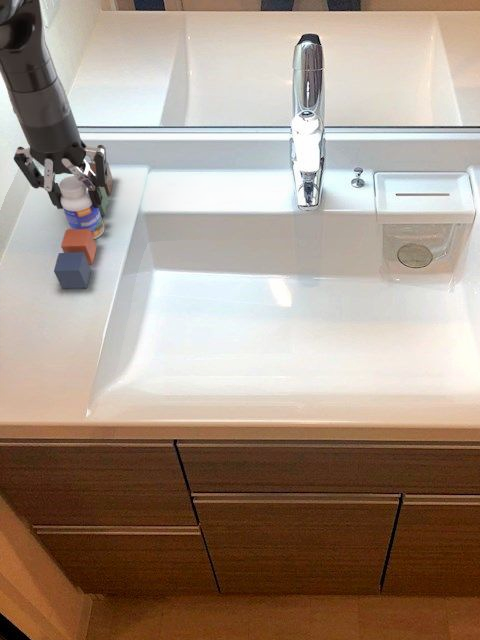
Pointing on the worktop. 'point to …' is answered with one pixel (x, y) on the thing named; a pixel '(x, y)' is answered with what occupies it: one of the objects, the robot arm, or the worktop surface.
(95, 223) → the pill bottle
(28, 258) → the worktop surface
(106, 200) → the block
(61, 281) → the block
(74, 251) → the block
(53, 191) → the robot arm
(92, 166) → the block
